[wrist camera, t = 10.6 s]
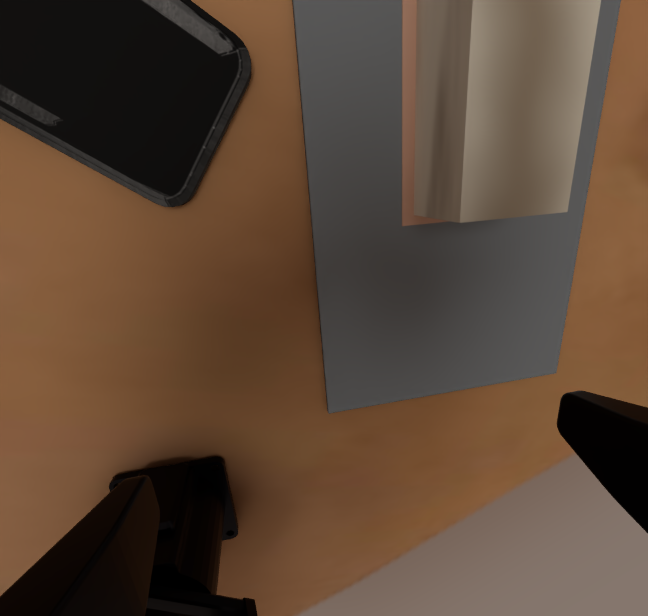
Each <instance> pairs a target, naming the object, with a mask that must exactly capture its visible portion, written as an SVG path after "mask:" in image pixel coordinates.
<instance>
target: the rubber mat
mask: <svg viewBox="0 0 648 616" xmlns="http://www.w3.org/2000/svg"><path fill="white" fill-rule="evenodd" d="M292 2H293V13H294V25H295V36H296V48H297V60H298V71H299V83H300V95H301V106H302V118H303V130H304V141H305V153H306V164H307V176H308V188H309V199H310V211H311V223H312V234H313V246H314V258H315V269H316V281H317V292H318V304H319V316H320V327H321V339H322V351H323V362H324V374H325V385H326V397H327V409H328V413H334V412H339V411H345V410H351V409H356V408H362V407H368V406H373V405H379V404H385V403H390V402H396V401H401V400H407V399H413V398H418V397H424V396H430V395H435V394H441V393H447V392H452V391H458V390H463V389H469V388H475V387H480V386H486V385H492V384H497V383H503V382H509V381H514V380H520V379H525V378H531V377H537V376H542V375H548V374H554V373H556V371H557V365H558V359H559V354H560V348H561V342H562V336H563V331H564V325H565V319H566V313H567V308H568V302H569V296H570V290H571V285H572V279H573V273H574V267H575V262H576V256H577V250H578V244H579V239H580V233H581V227H582V221H583V215H584V210H585V204H586V198H587V192H588V187H589V181H590V175H591V169H592V164H593V158H594V152H595V146H596V141H597V135H598V129H599V123H600V118H601V112H602V106H603V100H604V95H605V89H606V83H607V77H608V71H609V66H610V60H611V54H612V48H613V43H614V37H615V31H616V25H617V20H618V14H619V8H620V2H621V0H601V4H600V11H599V17H598V23H597V30H596V36H595V42H594V48H593V55H592V61H591V67H590V73H589V80H588V86H587V92H586V99H585V105H584V111H583V117H582V124H581V130H580V136H579V142H578V149H577V155H576V161H575V167H574V174H573V180H572V186H571V193H570V199H569V205H568V211H567V212H563V213H553V214H543V215H533V216H523V217H513V218H503V219H494V220H484V221H474V222H464V223H457V222H452V221H446V220H440V219H434V218H428V217H422V216H416V215H414V160H415V88H416V15H417V0H292Z"/></svg>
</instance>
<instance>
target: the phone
mask: <svg viewBox="0 0 648 616" xmlns="http://www.w3.org/2000/svg"><path fill="white" fill-rule="evenodd" d="M250 78H251V60H250V56H249V52H248V50H247V48H246V46H245V45H244V43H243V41H242V40H241V39H240V38H239V37H238V36H237V35H236V34H234V33H233V32H232V31H231V30H229V29H228V28H227V27H225V26H224V25H223V24H221V23H220V22H219V21H217V20H216V19H215V18H213V17H212V16H211V15H209V14H208V13H207V12H205V11H204V10H203V9H201V8H200V7H199V6H197V5H196V4H195V3H193V2H192V1H191V0H0V119H2V120H4V121H6V122H7V123H9V124H11V125H13V126H15V127H17V128H18V129H20V130H22V131H24V132H26V133H28V134H29V135H31V136H33V137H35V138H37V139H39V140H40V141H42V142H44V143H46V144H48V145H50V146H51V147H53V148H55V149H57V150H59V151H61V152H62V153H64V154H66V155H68V156H70V157H72V158H73V159H75V160H77V161H79V162H81V163H83V164H84V165H86V166H88V167H90V168H92V169H94V170H95V171H97V172H99V173H101V174H103V175H105V176H106V177H108V178H110V179H112V180H114V181H116V182H117V183H119V184H121V185H123V186H125V187H127V188H128V189H130V190H132V191H134V192H136V193H138V194H139V195H141V196H143V197H145V198H147V199H149V200H150V201H152V202H154V203H156V204H159V205H161V206H164V207H175V206H179V205H183V204H185V203H187V202H188V201H190V200H191V198H192V197H193V196H194V194H195V192H196V190H197V188H198V186H199V184H200V182H201V180H202V178H203V176H204V174H205V172H206V170H207V168H208V166H209V164H210V162H211V160H212V158H213V156H214V154H215V152H216V150H217V148H218V146H219V144H220V142H221V140H222V137H223V135H224V133H225V131H226V129H227V127H228V125H229V123H230V121H231V119H232V117H233V115H234V113H235V111H236V109H237V107H238V105H239V103H240V101H241V99H242V97H243V95H244V93H245V91H246V89H247V87H248V85H249V82H250Z"/></svg>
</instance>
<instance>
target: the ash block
mask: <svg viewBox="0 0 648 616" xmlns="http://www.w3.org/2000/svg"><path fill="white" fill-rule="evenodd" d="M600 4H601V0H417V15H416V88H415V160H414V215H416V216H422V217H428V218H434V219H440V220H446V221H452V222H457V223H464V222H474V221H484V220H494V219H503V218H513V217H523V216H533V215H543V214H553V213H563V212H567V211H568V205H569V199H570V193H571V186H572V180H573V174H574V167H575V161H576V155H577V149H578V142H579V136H580V130H581V124H582V117H583V111H584V105H585V99H586V92H587V86H588V80H589V73H590V67H591V61H592V55H593V48H594V42H595V36H596V30H597V23H598V17H599V11H600Z"/></svg>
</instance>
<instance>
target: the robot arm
mask: <svg viewBox="0 0 648 616" xmlns="http://www.w3.org/2000/svg"><path fill="white" fill-rule="evenodd" d="M557 428H558V431H559V432H560V434H561V436H562V437H563V438H564V439H565V440H566V442H567V443H568V444H569V445H570V446H571V448H572V449H573V450H574V451H575V452H576V454H577V455H578V456H579V457H580V458H581V460H582V461H583V462H584V463H585V465H586V466H587V467H588V468H589V469H590V470H591V472H592V473H593V474H594V475H595V476H596V478H597V479H598V480H599V481H600V483H601V484H602V485H603V486H604V487H605V488H606V490H607V491H608V492H609V493H610V494H611V495H612V496H613V498H614V499H615V500H616V501H617V502H618V503H619V504H620V505H621V506H622V507H623V508H624V509H625V510H626V511H627V512H628V514H629V515H630V516H631V517H633V519H634V520H635V521H636V522H637V523H638V524H639V525H640V526H641V527H642V528H643V529H644V530H645V531H646V532H647V533H648V408H647V407H643V406H639V405H635V404H632V403H628V402H624V401H620V400H616V399H613V398H609V397H605V396H601V395H597V394H594V393H590V392H586V391H575V392H570V393H566V394H564V395H563V396H562V398H561V401H560V407H559V413H558V419H557ZM213 465H218V466H217V467H214V466H213ZM117 483H120V484H117ZM109 489H110V493H109V494H108V495H107V496H106V497H105V498H104V499H103V500H102V501H101V502H100V503H98V504H97V505H96V506H95V507H94V508H93V509H92V510H91V511H90V512H89V513H88V514H87V515H86V516H85V517H84V518H83V519H82V520H81V521H79V522H78V523H77V524H76V525H75V526H74V527H73V528H72V529H71V530H70V531H69V532H68V533H67V534H66V535H65V536H64V537H63V538H62V539H60V540H59V541H58V542H57V543H56V544H55V545H54V546H53V547H52V548H51V549H50V550H49V551H48V552H47V553H46V554H45V555H44V556H42V557H41V558H40V559H39V560H38V561H37V562H36V563H35V564H34V565H33V566H32V567H31V568H30V569H29V570H28V571H27V572H26V573H25V574H23V575H22V576H21V577H20V578H19V579H18V580H17V581H16V582H15V583H14V584H13V585H12V586H11V587H10V588H9V589H8V590H7V591H5V592H4V593H3V594H2V595H1V596H0V616H257V611H256V605H255V600H254V599H249V598H243V599H237V598H231V597H226V596H221V595H216V593H217V583H218V573H219V564H220V554H221V544H222V541H223V540H227V539H232V538H234V537H236V536H237V534H238V522H237V518H236V513H235V509H234V504H233V500H232V495H231V491H230V486H229V482H228V477H227V472H226V468H225V463H224V460H223V459H222V458H220V457H211V458H206V459H200V460H195V461H190V462H184V463H179V464H173V465H168V466H163V467H157V468H152V469H147V470H141V471H136V472H131V473H125V474H120V475H116V476H115V477H113V479H112V481H111V483H110V485H109ZM229 530H230V531H229Z"/></svg>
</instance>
